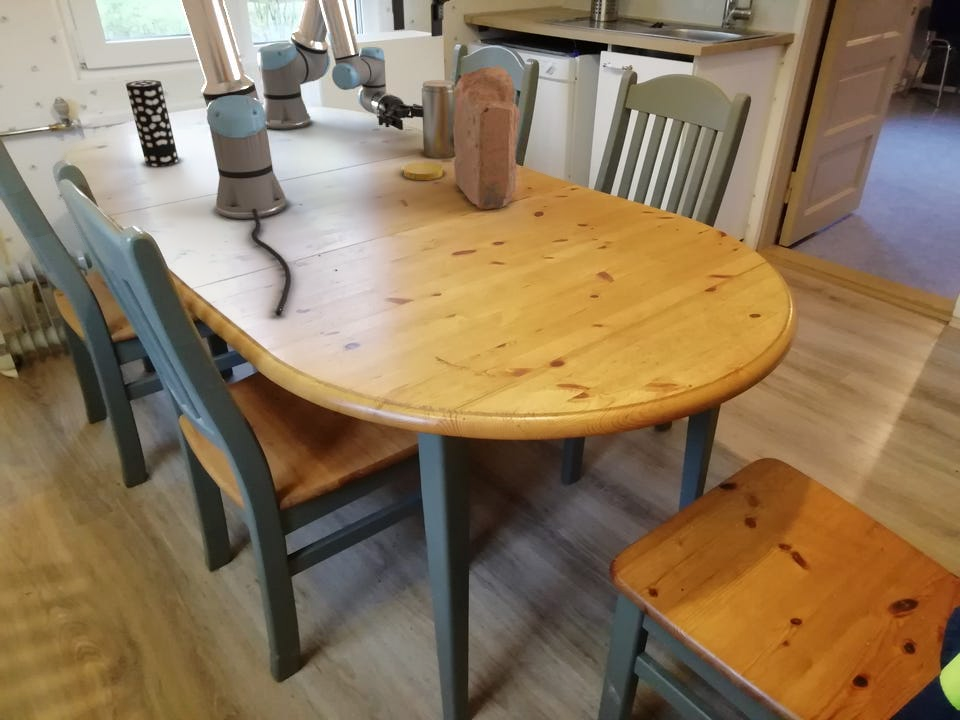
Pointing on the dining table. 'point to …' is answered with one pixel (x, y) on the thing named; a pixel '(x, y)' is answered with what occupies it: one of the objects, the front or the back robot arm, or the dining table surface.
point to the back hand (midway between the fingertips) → (422, 122)
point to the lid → (423, 171)
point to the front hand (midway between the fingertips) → (417, 32)
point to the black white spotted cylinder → (152, 122)
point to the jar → (438, 118)
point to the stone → (485, 137)
